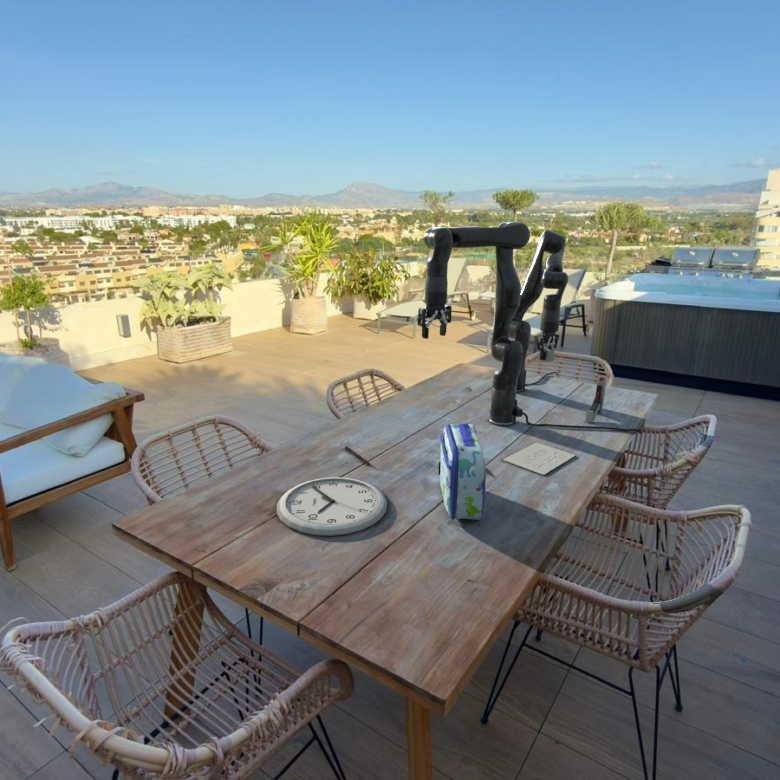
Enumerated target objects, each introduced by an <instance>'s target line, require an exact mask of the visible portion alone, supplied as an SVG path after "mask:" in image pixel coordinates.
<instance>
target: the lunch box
mask: <svg viewBox="0 0 780 780" xmlns="http://www.w3.org/2000/svg"><path fill="white" fill-rule="evenodd" d="M439 439H440V458H439V459H440V461H438V475H440V480H439V481H440V482H439V484H440V485H439V486H440V489H441V494H442V500H443V504H444V509H445V511H446V513H447V515H448V517H449V518H450V519H451V520H455V519H456V520H458V519H459V520H460V519H463V520H464V519H465V520H476V521H477V520H480V521H481V520H482V518H483V516H484V511H485V502H486V501H485V499H486V472H485V470H486V463H485V458H484V450H483V447H482V444H481V442H480V439H479V437H478V434H477V431H476V428H475V425H474V424H473V423H471V424H470V423H468V422H467V423H458V424H455V423H453V424H451V423H447V424H444V427H443V432H442V434H441V435H440V438H439Z"/></svg>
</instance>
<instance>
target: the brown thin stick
mask: <svg viewBox="0 0 780 780" xmlns="http://www.w3.org/2000/svg"><path fill="white" fill-rule="evenodd" d="M344 449H345V450H346V451H348V452H349V453H350V454H352V455H353V456H355V457H356V458H358V459H359V460H361V461H362V462H363V463H364V464H366V465H370V461H368V460H367V459H366V458H364V457H363V456H361V455H360V454H358V453H357V452H356V451H354V450H353V449H352V448H350V447H348V446H347V445H345V446H344Z"/></svg>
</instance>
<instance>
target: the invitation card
mask: <svg viewBox="0 0 780 780" xmlns="http://www.w3.org/2000/svg"><path fill="white" fill-rule="evenodd" d="M576 456H577V455H576V454H573V453H570V452H567V451H565V450H561V449H558V448H555V447H552V446H549V445H546V444H543V443H539V442H534V443H532V444H529V445H528V446H526V447H524V448H522V449H520V450H518V451H516V452H514V453H512V454H510V455H509V456H507V457H505V458H503V459H502V461H503V462H506V463H509V464H511V465H514V466H518V467H520V468H523V469H525V470H528V471H531V472H534V473H536V474H539V475H541V476H545V475H547V474H548V473H550V472H552V471H554V469H556V468H558V467H559V466H561V465H563V464H564V463H566V462H568V461H570V460H571V459H572V458H574V457H576Z"/></svg>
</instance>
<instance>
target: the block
mask: <svg viewBox="0 0 780 780" xmlns="http://www.w3.org/2000/svg"><path fill="white" fill-rule="evenodd" d="M555 351H556V348H554V349H550V348H548V347H547V349H546V356H545V360H540V351H539V350H538V357H537V359H538V361H542V362H545V363H548V362H549V363H550V362H553V361H555Z"/></svg>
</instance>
